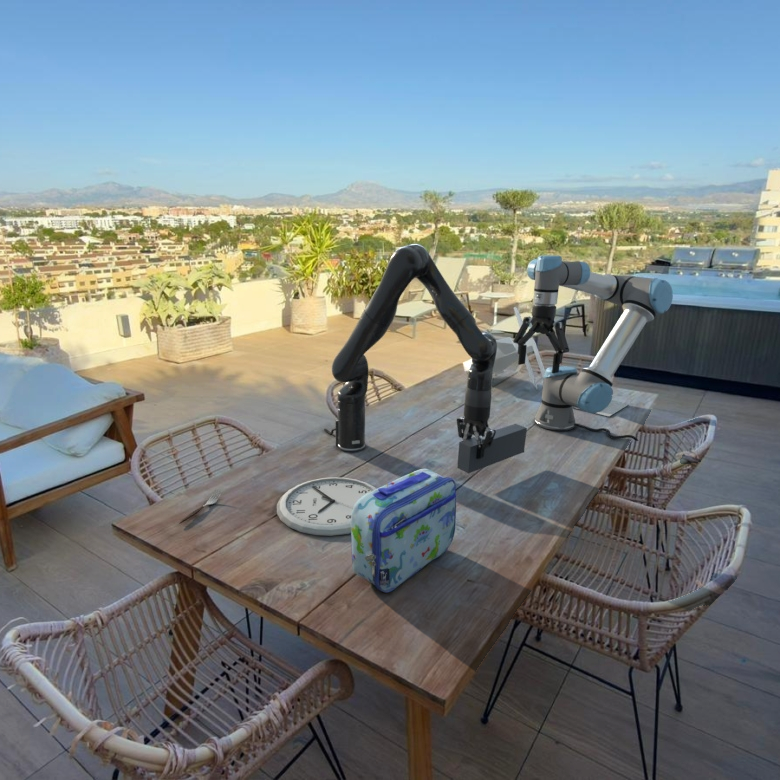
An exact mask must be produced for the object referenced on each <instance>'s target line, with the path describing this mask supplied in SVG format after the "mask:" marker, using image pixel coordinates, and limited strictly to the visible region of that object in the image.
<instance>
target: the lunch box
mask: <svg viewBox="0 0 780 780" xmlns="http://www.w3.org/2000/svg"><path fill="white" fill-rule="evenodd" d="M456 517H457V485H456V481H455V479H453V478H452V477H449V476H447V477H445V476H442V475H440V474H439V473H437V472H434V471H433V470H431V469H428V468H420V469H417V470H414V471H413V472H410V473H408V474H405V475H403V476H401V477H399V478H397V479H394V480H393V481H390V482H388V483H387V484H383V485H382V486H380V487H377V489H376V490H374V491H372V492H370V493H367V494H365V495H364V496H362V497H361V498H360V499H359V500H358V501H357V502H356V504H355V505H354V507H353V510H352V514H351V533H350V538H351V539H350V540H351V564H352V570H353V572H354V574H355V575H356V576H358V577H359V578H362V579H364V580H366V581H368V582H369V583H370V584H372V585H374V586H375V587H376V589H377V590H379V591H381V592H383V593H391V592H392V591H394V590H395V589H397V588H398V587H400V586H401V584H403V583H404V582H406V581H407V580H408V579H410V578H411V577H412V576H414V575H415V574H417V573H418V572H419V571H421V570H423V568H425V566H426V565H428V564H429V563H431V562H432V561H434V560H435V559H437V558H440V556H442V555H443V554H445V553H446V552H447V550H448V549H449V548H450V546H451V545H452V542H453V540H454V537H455V532H456V522H457V521H456V519H457V518H456Z"/></svg>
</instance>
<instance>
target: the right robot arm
mask: <svg viewBox="0 0 780 780" xmlns="http://www.w3.org/2000/svg"><path fill="white" fill-rule="evenodd" d="M526 272H527V277H528V278H529V279H530V280H532V281H534V287H533V295H532V296H533V298H532V303H533V305H532V306H531V316H532V317H531V316H524V317H523V319H522V322H523V324H522V326H521V327H520V326H519V329H518V331H517V333H516V335H515V337H514V339H513V342H514V343H516V344H518V354H519V360H517V361H518V362H517V365H519V366H521V365H526V364H525V358H526V347H527V345H524V344H525V343H526V342H527V341H528V340H529V339H530V338H532V337H533V336H534V335H535V333H536V334H541V335H545V336H546V337H547V338H548V340H549V342H550V344H551V346H552V347H553V349H554V351H555V352H554V353H553V358H552V366H550V367H547V368H546V369H545V375H544V378H543V377H542V379H543V381H542V392H541V402H540V405H539V407H538V410H537V411H536V413H535V417H534V424H535V425H536V426H537V427H539V428H542V429H544V430H549V431H556V432H567V431H572V430H574V429H575V428H577V427H578V428H580V429H584V430H586V431H590V432H595V433H596V432H597V433H598V432H606V433H607V436H608V437H609V438H611V439H614V440H620V439H621V440H622V439H628V438H630V439H633V440H634V441H635V442H639V439H638V438H637V437H636V436H634V435H632V434H623V435H612V434H611V431H610V429H607V428H606V427H605V428H603V427H602V428H601V427H600V428H591V427H588V426H585V425H582V424H579V423H576V418H575V417H576V416H575V413H574V407H576V408H578V409H577V410H580V411H581V412H586V413H589V414H596V413H597V412H601V411H602V410H604V409H605V408H606V407H607V406H608V405H609V404H610V402H611V401H613V395H614V390H613V388H612V387H613V384H614V382H613V380H612V379H613V377H614V375H615V373H616V372H617V370H618V369H619V367H620V365H621V364H622V362H623V360H624V359H625V357H626V355H627V354H628V353H629V351H630V350H631V348H632V346H633V345H634V343H635V341H636V340H637V338H638V336H639V335H640V333H641V332H642V330H643V328H644V327H645V325H646V323H649V322H652V321H654V319H655V318H656V316H657V315H658V314H659V315H661V314H664V313H666V312H667V311H668V310H669V309H670V307H671V306H672V303H673V297H674V294H673V288H672V285H671V284H670V282H669V281H667V280H665V279H660V278H657V277H654V278H653V277H643V276H634V275H616V274H611V273H605V274H600V273H596V272H593V271H591V267H590V265H589V264H588V263H587V262H585V261H580V260H575V261H571V260H563V258H562V256H560V255H551V254H549V255H547V254H542V255H539V256H538V257H537V258H534V259H532V260H531V261H529V263H528V265H527V269H526ZM560 287H562V288H563V287H564V288H567V289H571V290H575V291H579V292H581V293H587V294H589V295H594V296H596V298H597V299H599V300H602V301H605V302H609V303H611V304H614V305H617V306H620V307H621V308H622V311H623V312H622V313H621V314H620V317H619V318H618V319H617V322H616V323H615V325H614V326H613V328H612V329H611V330H610V333H609V334H608V336H607V338H606V339H605V340H604V342H603V344H602V345H601V347H600V348H599V350H598V352H597V354H596V355H595V357H594V358H593V360H592V362H591V363H590V365H589V366H586V367H583V368H582V369H581V371H580V372H579V374H578V369H577V367H574V366H566V365H565V366H564V365H561V364H562V363H563V357H564V354H565V353H569V352H570V348H569V344H568V342H567V338H566V334H565V331H564V322H563V321H560V322H559V321H558V322H556V321H555V318H556V315H557V306H556V305H557V304H558V299H559V297H558V296H559V288H560ZM530 325H531V326H530ZM529 327H530V328H529ZM525 332H526V334H525ZM524 334H525V335H524ZM576 408H575V409H576Z"/></svg>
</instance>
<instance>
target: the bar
mask: <svg viewBox="0 0 780 780" xmlns="http://www.w3.org/2000/svg"><path fill="white" fill-rule="evenodd" d="M527 429H528V427H525V426H524V425H523V426H522V425H520V424H518V423H513V424H510V425H507V426H504V427H501V428H498V429H497V428H496V429H494V430H495V431H496V434H495V436H494V439H493V442H492V444H491V446H490V447H487V448H485V450H484V457H483V458H482V459H479V460H478V459H476V456H477V448H478V445H477V441H476V440H475V436H472V438H470V439H467V440H464V441H463V440H461V441H459V442H458V454H457V466H456V467H457V469H458V470H460V471H463V472H465V473H466V474H471V473H473V472H477V471H479V470H482V469H484V468H487V467H490V466H492V465H494V464H497V463H500V462H503V461H505V460H507V459H510V458H512V457H515V456H518V455H521V454H523V453H525V448H526V438H527ZM481 436H482V435H481ZM481 436H479V437H481ZM481 443H482V441H481Z"/></svg>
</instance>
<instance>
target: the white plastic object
mask: <svg viewBox="0 0 780 780" xmlns="http://www.w3.org/2000/svg"><path fill="white" fill-rule="evenodd" d="M513 310H514V315H515V317H516V321H517V323H518V326H519V328H520V327H521V326H522V324H523V319H522V316H521V312H520V311H519V309H518V308H517V306H514V307H513ZM526 333H527V331H526V332H525V334H526ZM525 334H524V335H525ZM496 342H497V351H496V357H495V362H494V367H493V372H492V375H495V376H497V375H500V374H503V373H505V370H506V369H508V368H509V367H510V366H512V365H513V364H515V363H517V361H519V354H518V344H517V343H516V342H514V340H513V339H512V337H511V336H508V337H503V338H498V339H496ZM524 345H527V347H526V358H525V364H524V365H525V367H526V370H527V373H528V376H529V380H530V382H531V384H532V385H533V387H534V388H535V389H536V390H538V384H537V381H536V378H535V374H534V371H533V368H532V365H531V361H530V359H529V356H528V354H530V353H533V352H534V355H535V356H534V357H535V358H536V360H537V365H538V367H539V370H540V373H541V376H542V379H543V378H544V375H545V370H546V369H545V366H544V362H543V360H542V357H541V355H540V351H539V349H538V345H537V343H536V341H535V339H534V337H533V336H532V337H531V338H530V339H529V340H528V341H527V342H526V343H525V344H524ZM471 363H472V358H470V359H468V360H466V361H463V362H462V365H463V370H464V372H465V374H466V375H467V376H468V371H469V369H470V367H471Z"/></svg>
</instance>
